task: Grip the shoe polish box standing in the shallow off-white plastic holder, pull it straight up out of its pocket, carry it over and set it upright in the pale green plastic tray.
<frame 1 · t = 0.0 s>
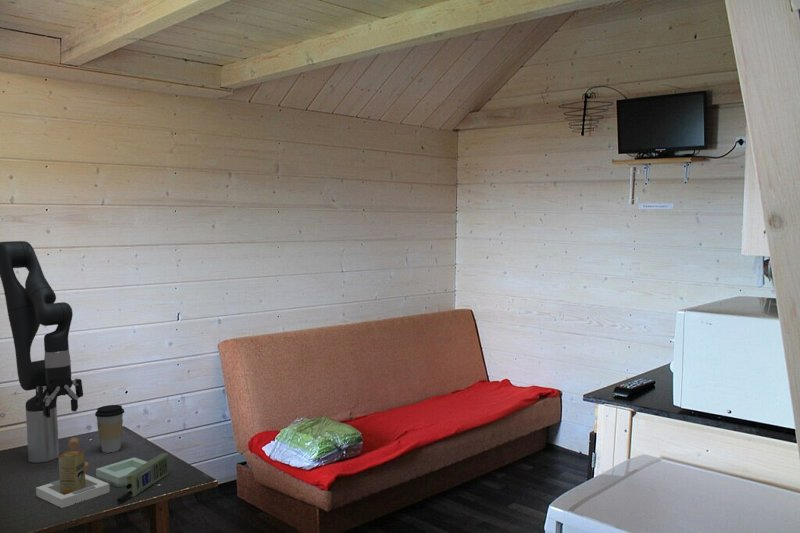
hand: (61, 414, 224), 17 cm above the table, tool pointing down, fingers open, 8 cm apart
door knob: (75, 469, 222), on the table
handheld radio: (144, 489, 205), on the table
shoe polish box: (73, 494, 201), resting in holder
coffee cup: (111, 450, 241), on the table
tray: (127, 476, 215), on the table
holder: (73, 494, 201), on the table
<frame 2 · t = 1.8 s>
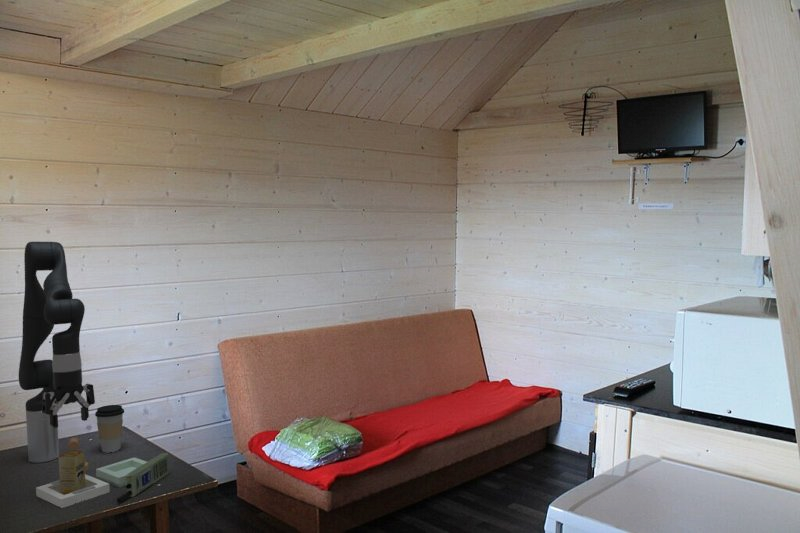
hand: (69, 423, 200), 21 cm above the table, tool pointing down, fingers open, 8 cm apart
nothing on the table moved.
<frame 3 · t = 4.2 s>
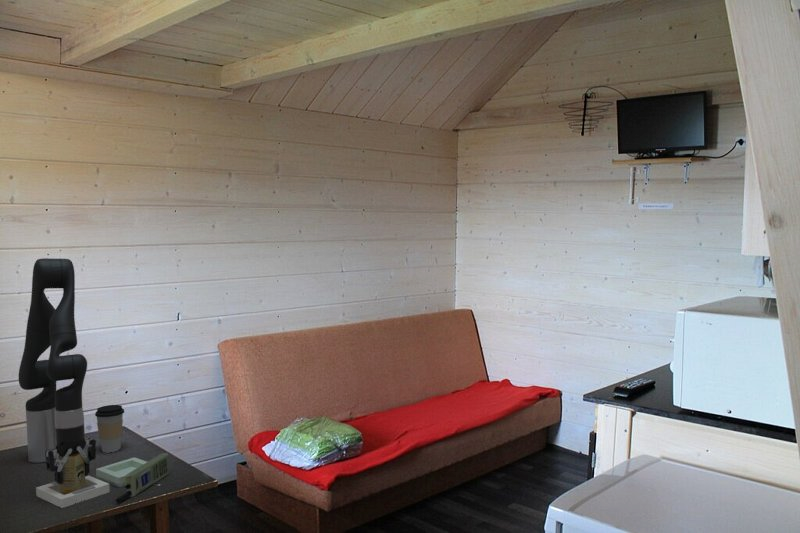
hand: (72, 479, 201), 4 cm above the table, tool pointing down, fingers closed on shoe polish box, 7 cm apart
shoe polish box: (73, 494, 201), resting in holder, touching gripper
everything else where it was.
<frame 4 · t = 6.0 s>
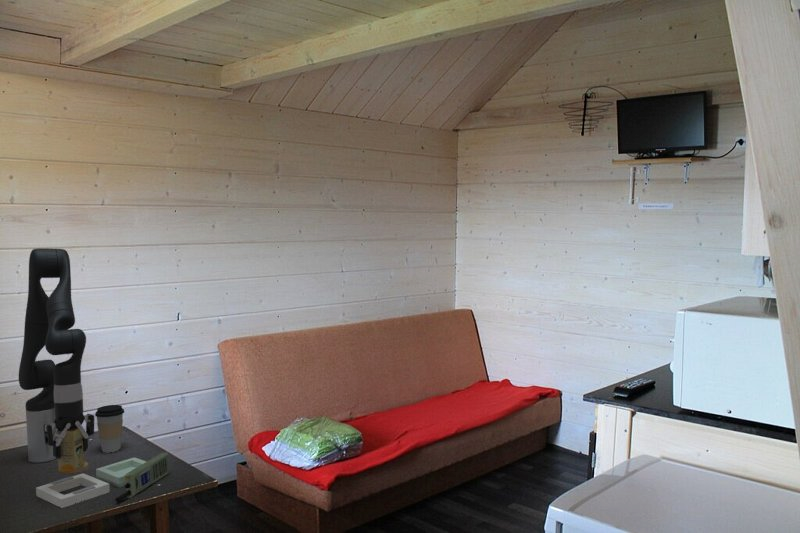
hand: (70, 454, 201), 12 cm above the table, tool pointing down, fingers closed on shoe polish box, 7 cm apart
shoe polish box: (71, 469, 201), point 7 cm above the table, touching gripper
everything else where it was.
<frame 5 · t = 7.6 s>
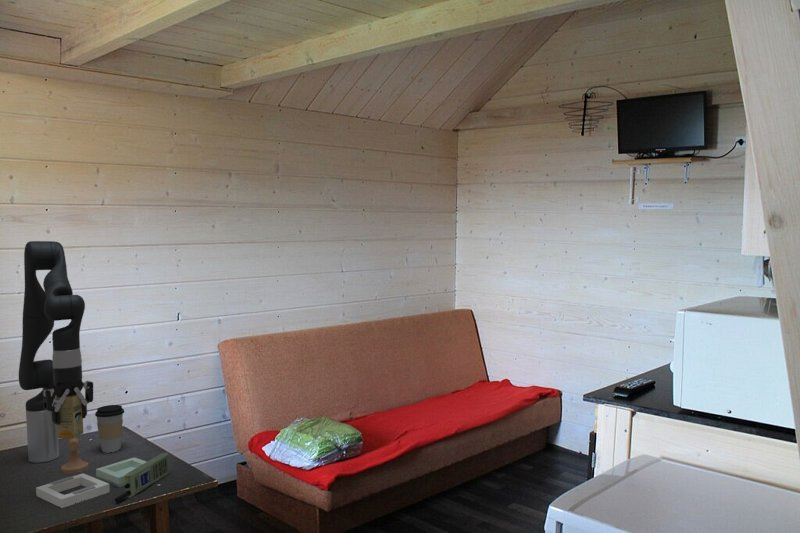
hand: (69, 420, 200), 22 cm above the table, tool pointing down, fingers closed on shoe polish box, 7 cm apart
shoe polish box: (70, 436, 200), point 17 cm above the table, touching gripper
everything else where it was.
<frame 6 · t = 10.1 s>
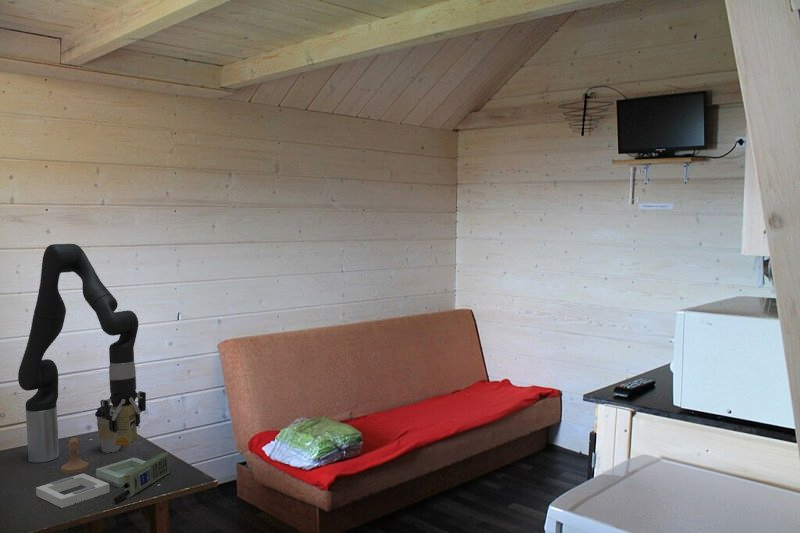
hand: (124, 428, 214), 15 cm above the table, tool pointing down, fingers closed on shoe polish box, 7 cm apart
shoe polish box: (125, 443, 214), point 11 cm above the table, touching gripper
everything else where it was.
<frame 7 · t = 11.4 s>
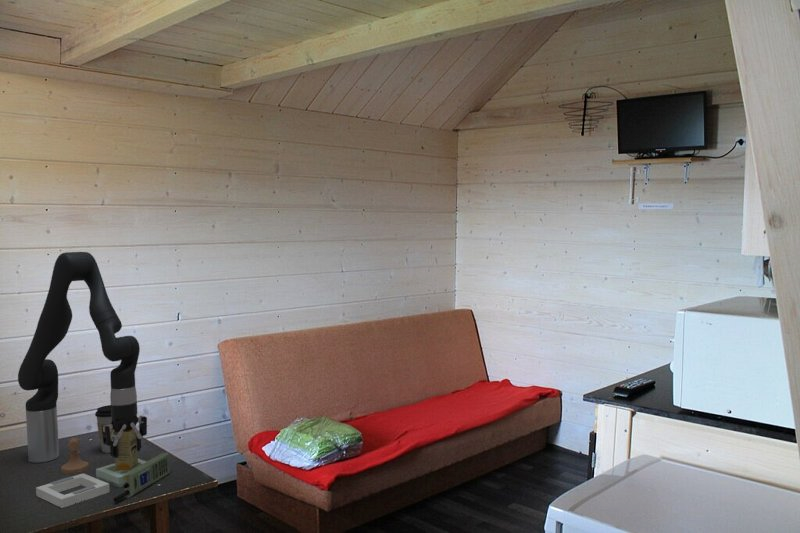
hand: (126, 453, 214), 7 cm above the table, tool pointing down, fingers closed on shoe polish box, 7 cm apart
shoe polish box: (126, 468, 214), point 3 cm above the table, touching gripper
everything else where it was.
when the fingers open (7 cm above the table, at t = 12.6 s): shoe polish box drops 1 cm, resting on tray.
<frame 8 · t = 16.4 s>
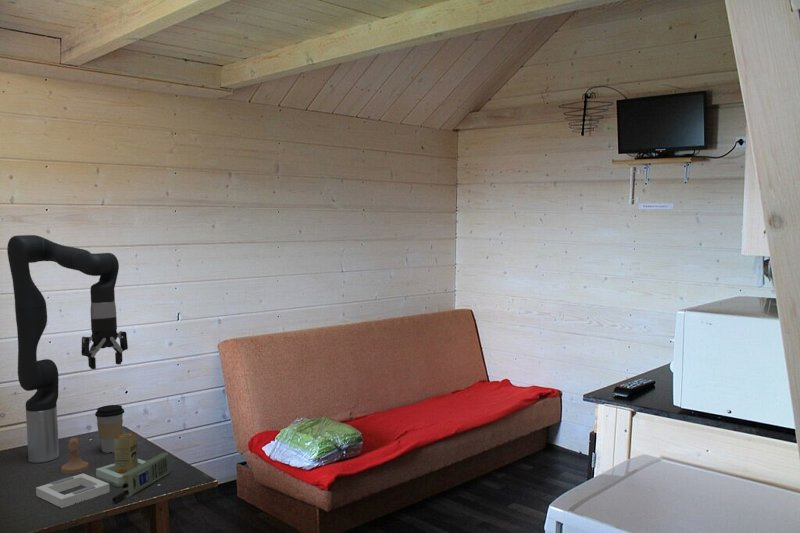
hand: (105, 366, 220), 33 cm above the table, tool pointing down, fingers open, 8 cm apart
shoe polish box: (126, 474, 215), point 1 cm above the table, touching tray
everything else where it was.
at the end: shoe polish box inside the target area on the tray (0.1 cm from its centre), point 0.8 cm above the tray's base; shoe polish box tilted 0°; the gripper is holding nothing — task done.
